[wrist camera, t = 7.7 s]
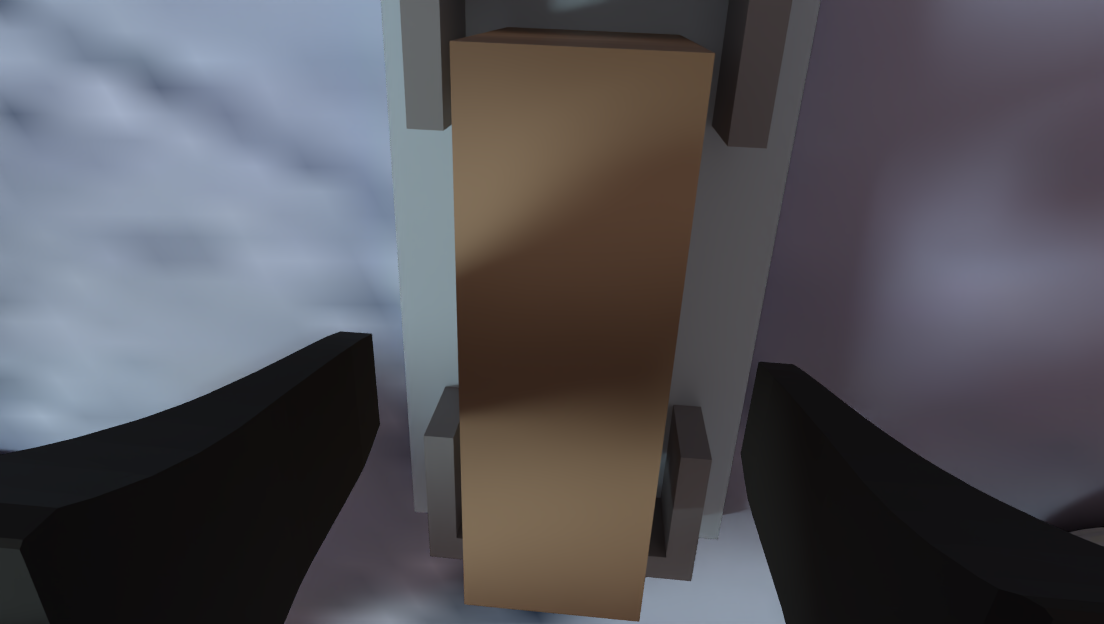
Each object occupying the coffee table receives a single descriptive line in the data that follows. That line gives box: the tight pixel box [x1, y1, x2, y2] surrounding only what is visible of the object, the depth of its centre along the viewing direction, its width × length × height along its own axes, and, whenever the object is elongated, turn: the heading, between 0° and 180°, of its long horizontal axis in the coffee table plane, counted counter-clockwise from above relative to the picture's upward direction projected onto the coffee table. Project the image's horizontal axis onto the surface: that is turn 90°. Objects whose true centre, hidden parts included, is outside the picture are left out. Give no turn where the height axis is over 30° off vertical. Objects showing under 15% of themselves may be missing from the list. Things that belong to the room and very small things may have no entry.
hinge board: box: [381, 0, 821, 581], centre depth 17 cm, size 18×10×4 cm, turn 178°
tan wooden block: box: [450, 27, 715, 622], centre depth 15 cm, size 12×4×6 cm, turn 178°
